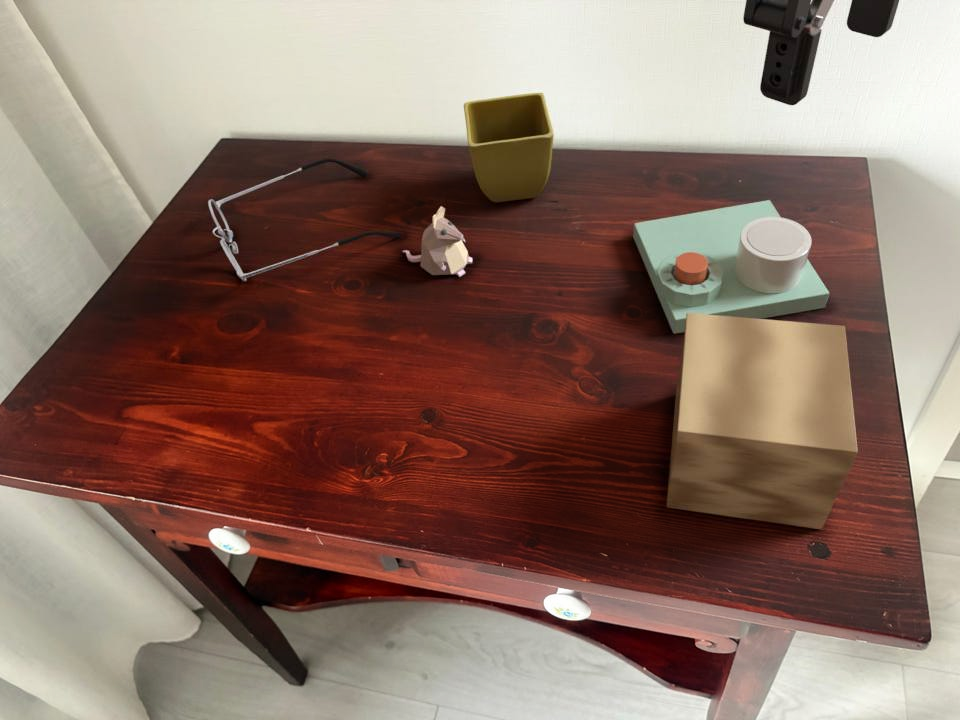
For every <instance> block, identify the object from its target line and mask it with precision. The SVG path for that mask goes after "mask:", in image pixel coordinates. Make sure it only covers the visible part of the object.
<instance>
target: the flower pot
mask: <svg viewBox="0 0 960 720" xmlns="http://www.w3.org/2000/svg"><path fill="white" fill-rule="evenodd" d="M463 111H464V118H465V119H464V120H465V127H466V137H467V146H468V151H469V154H470V158H471V163H472V167H473V171H474V175H475V178H476V181H477V183H478V186H479V188H480V190H481V191H482V193H483V194H484V196H485V197H487V198H488V200H490V201H491V202H492V203H502V202H511V201H518V200H527V199H528V200H529V199H534V198H537V197H538V196H539V195H540V193H542V191H543V190H544V188H545V186H546V184H547V182H548V181H549V177H550V173H551V167H552V158H553V147H554V137H555V136H554V135H555V134H554V133H555V132H554V129H553V125H552V121H551V118H550V114H549V109H548V105H547V101H546V97H545V95H544V93H543V92H529V93H522V94H515V95H507V96H499V97H493V98H485V99H478V100H472V101H467V102H464V103H463Z"/></svg>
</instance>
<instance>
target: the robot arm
mask: <svg viewBox="0 0 960 720" xmlns="http://www.w3.org/2000/svg"><path fill="white" fill-rule="evenodd" d="M834 1H835V0H745V6H744V11H743V19H742V20H743V23H744V24H745V25H747V26H749V27H750V26H751V27H754V28H758V29H761V30H765V31H768V32H769V34H768V40H767V46H766V52H765V57H764V63H763V70H762V75H761V79H760V86H759V89H760V93H761V94H762V95H763V96H764V97H765V98H767V99H770V100H773V101H776V102H780V103H782V104H785V105H788V106H796V105H797V104H799V102H801V101H802V100H804V99H805V98H806V96H807V95H808V91H809V87H810V83H811V79H812V74H813V69H814V65H815V62H816V58H817V57H816V56H817V52H818V48H819V43H820V39H821V35H822V29H821V28H822V27H823V25H824V22H825V21H826V18H827V16H828V15H829V12H830V10H831V8H832V6H833V4H834ZM899 3H900V0H851V4H850V7H849V10H848V15H847V20H846V26H847V28H848V30H850V31H851V32H855V33H858V34H861V35H865V36H869V37H873V38H880V37H882V36H883V35H885V34H886V33H887V32H888V31H890V30H891V29H892V27H893V24H894V20H895V16H896V14H897V10H898V6H899Z"/></svg>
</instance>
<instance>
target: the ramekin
mask: <svg viewBox="0 0 960 720" xmlns="http://www.w3.org/2000/svg"><path fill="white" fill-rule="evenodd" d="M812 242H813V240H812V236H811V234H810V232H809V231H808V230H807V229H806V228H805V227H804V226H803V225H802V224H800V223H798V222H797V221H795V220H792V219H790V218H786V217H781V216H780V217H763V218H759V219H756V220H753V221H751V222H749V223H748V224H747V225H745V227H744V228H743V229H742V231H741V233H740V239H739V244H738V249H737V255H736V260H735V265H734V272H735V275H736V277H737V279H738V280H739V281H740V282H741V283H742V284H743V285H745V286H746V287H748V288H750V289H752V290H755V291H758V292H762V293H771V294H773V293H782V292H786V291H789V290H791V289H793V288H794V287H796V286H797V285H798V284H799V283H800V281H801V279H802V276H803V272H804V269H805V265H806V262H807V259H808V258H809V254H810V251H811V248H812Z"/></svg>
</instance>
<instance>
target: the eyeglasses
mask: <svg viewBox="0 0 960 720" xmlns="http://www.w3.org/2000/svg"><path fill="white" fill-rule="evenodd" d="M325 163H335V164H338V165H340V166H342V167H343V168H346V169H347V170H349V171H351V172H353V173H355V174H357V175H358V176H360V177H362V178H365V179H366V178H367V176H368V172H366V171H365V170H363V169H360V168H358V167H356V166H353V165H351V164H348V163H346V162H343V161H341V160H339V159H335V158H325V159H320V160H317V161H314V162H311V163H309V164H305V165H303V166H300V167H298V169H296V170H293V171H292V172H290V173H287V174H285V175H280V176H277V177H275V178H273V179H269V180H267V181H265V182H263V183H260V184H257V185H254V186H252V187H250V188H247V189H245V190H242V191H240V192H237V193H234V194H232V195H229V196H227V197H225V198H222V199H220V200H217V201H215V200H214V199H212V198H211V199H208V201H207V204H208V208H209V211H210V213H211V217H212V219H213V222H214V223H215V225H216V227H215V228H214V229H213V230H212V234H213V236H215V237H217V238H218V239H220V240H219V243H220V246H221V247H222V249H223V251H224V253H225V255H226V257H227V258H228V260H229V262H230V263H231V265H232V266H233V268H234V270H235V271H236V275H237V276H238V278H240V279H241V280H242V281H243V282H244V283H245V282H247V279H248V278H250V277H253V276H256V275H259V274H261V273H264V272H268V271H271V270H273V269H276V268H279V267H281V266H285V265H288V264H290V263H293V262H296V261H298V260H302V259H304V258H307V257H310V256H313V255H316V254H318V253H320V252H322V251H325V250H328V249H330V248H334V247H339V246H343V245H346V244H349V243H351V242H354V241H356V240H359V239H362V238H365V237H368V236H375V235H376V236H380V237H381V236H382V237H387V238H395V239H401V238H402V237H403V234H404V232H395V231H394V232H392V231H378V230H376V231H374V230H373V231H366V232H363V233H359V234H356V235H354V236H351V237H348V238H346V239H342V240H339V241H337V242H335V243H334V244H332V245H329V246H326V247H324V248H321V249H318V250H317V249H315V250H312V251H310V252H306V253H304V254H300V255H298V256H295V257H292V258H289V259H286V260H283V261H280V262H277V263H274V264H272V265H268V266H265V267H262V268H259V269H256V270H254V271H251V272H248V273H245V272H243V270H242V268H241V266H240V265H239V263H238V262H237V259H236V258H235V256H234V254H235V255H237V254H239V248H238V244H237V242H236V241H233V237H234V232H233V231H232V229H230V226H229V224H228V221H227V220H226V218H225V215H224V213H223V212H222V210H221V206H222V204H225V203H226V202H228V201H231V200H234V199H236V198H238V197H241V196H243V195H246V194H248V193H251V192H253V191H255V190H258V189H260V188H262V187H266V186H268V185H270V184H272V183H275V182H277V181H280V180H282V179H284V178H285V177H287V176H290V175H293V174H295V173H299V172H303V171H306V170H308V169H310V168H314V167H316V166H319V165H322V164H325ZM212 204H213V205H214V207H215V209H216V210H217V211H218V213H219V215H220V217H221V219H222V221H223V223H224V226H225V228H224V229H223V228H222V227H221V225H220V223H219V222H218V219H217V218H216V215H215V212H214V209H213V205H212ZM216 231H217V233H218V234H219V235H217V234H216V233H215V232H216ZM225 231H227V232H225ZM227 243H228V244H227ZM230 246H231V248H230Z"/></svg>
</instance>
